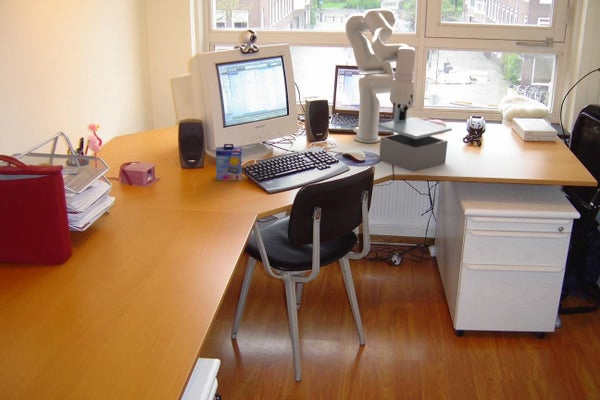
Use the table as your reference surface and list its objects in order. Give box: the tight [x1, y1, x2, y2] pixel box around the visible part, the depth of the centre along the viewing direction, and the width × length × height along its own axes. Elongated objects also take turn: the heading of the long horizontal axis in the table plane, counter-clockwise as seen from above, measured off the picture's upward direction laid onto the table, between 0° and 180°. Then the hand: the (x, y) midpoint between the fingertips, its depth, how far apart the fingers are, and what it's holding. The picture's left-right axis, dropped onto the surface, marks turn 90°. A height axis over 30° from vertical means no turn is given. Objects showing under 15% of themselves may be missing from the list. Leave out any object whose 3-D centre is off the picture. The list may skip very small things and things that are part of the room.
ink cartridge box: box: [215, 143, 242, 181], centre depth 259 cm, size 10×6×14 cm, turn 95°
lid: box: [378, 108, 452, 139], centre depth 282 cm, size 22×22×8 cm
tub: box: [378, 133, 449, 173], centre depth 286 cm, size 20×20×10 cm
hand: (400, 119), depth 289 cm, fingers closed on lid, 1 cm apart
